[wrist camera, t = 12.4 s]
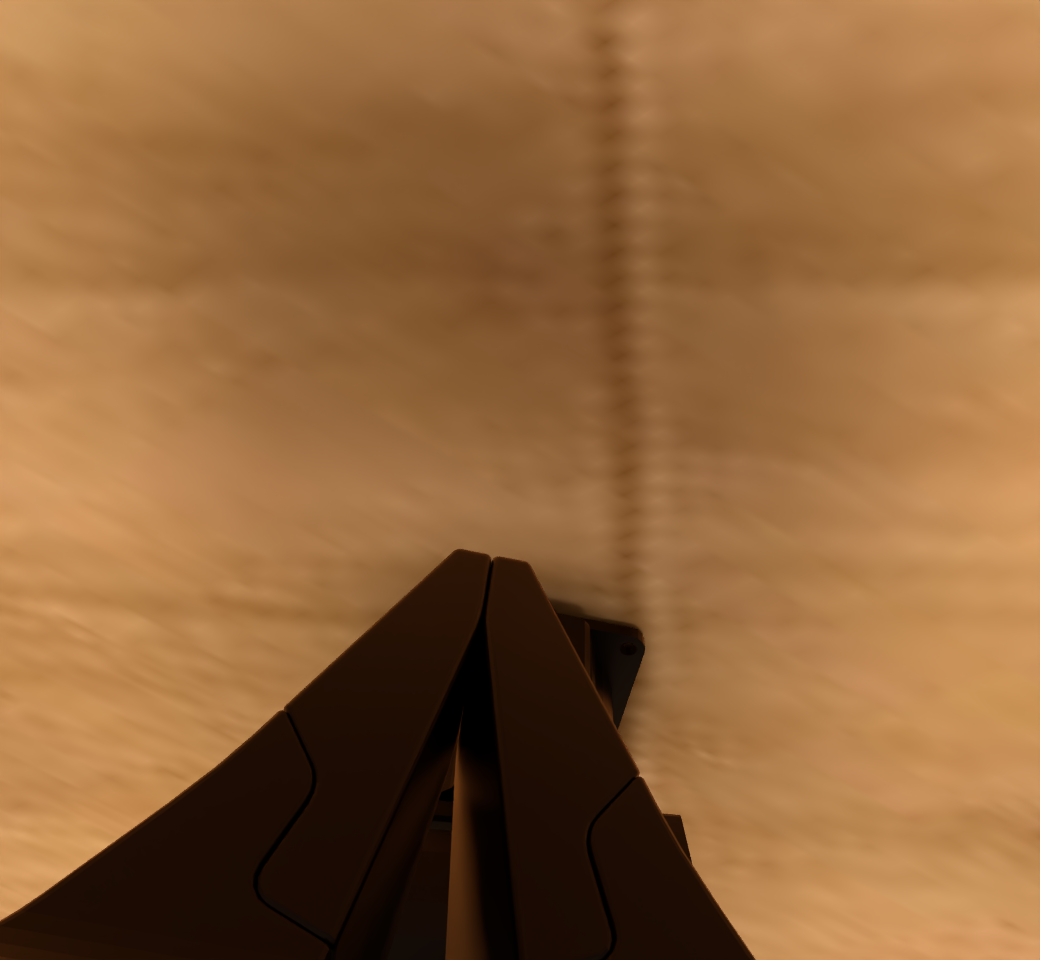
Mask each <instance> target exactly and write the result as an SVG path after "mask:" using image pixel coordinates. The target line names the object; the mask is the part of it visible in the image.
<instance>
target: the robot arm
mask: <svg viewBox="0 0 1040 960" xmlns="http://www.w3.org/2000/svg"><path fill="white" fill-rule="evenodd" d="M624 643H632V644H634V645H632V646H627V647H626V646H623V645H622V644H624ZM644 653H645V641H644V637H643V635H642V633H641V632H640V631H638V630H637V629H634V628H630V627H625V626H620V625H614V624H609V623H604V622H599V621H593V620H588V619H583V618H578V617H572V616H567V615H562V614H557V613H555V611H554V609H553V607H552V605H551V603H550V602H549V600H548V598H547V596H546V594H545V592H544V590H543V588H542V586H541V585H540V583H539V581H538V579H537V577H536V575H535V573H534V571H533V569H532V567H531V566H530V564H528V563H527V562H525V561H520V560H515V559H510V558H505V557H495V558H494V559H493V560H492V563H491V557H490V556H489V555H488V554H484V553H479V552H474V551H468V550H463V549H457V550H455V551H454V552H452V553H451V554H450V555H449V556H448V557H447V558H446V559H445V560H444V561H443V562H442V563H440V564H439V565H438V566H437V567H436V568H435V569H434V570H433V571H432V572H431V573H430V574H428V575H427V576H426V577H425V578H424V579H423V580H422V581H421V582H420V583H419V584H418V585H416V586H415V587H414V588H413V589H412V590H411V591H410V592H409V593H408V594H407V595H406V596H404V597H403V598H402V599H401V600H400V601H399V602H398V603H397V604H396V605H395V606H394V607H392V608H391V609H390V610H389V611H388V612H387V613H386V614H385V615H384V616H383V617H382V618H380V619H379V620H378V621H377V622H376V623H375V624H374V625H373V626H372V627H371V628H370V629H368V630H367V631H366V632H365V633H364V634H363V635H362V636H361V637H360V638H359V639H358V640H356V641H355V642H354V643H353V644H352V645H351V646H350V647H349V648H348V649H347V650H346V651H344V652H343V653H342V654H341V655H340V656H339V657H338V658H337V659H336V660H335V661H334V662H332V663H331V664H330V665H329V666H328V667H327V668H326V669H325V670H324V671H323V672H322V673H320V674H319V675H318V676H317V677H316V678H315V679H314V680H313V681H312V682H311V683H310V684H308V685H307V686H306V687H305V688H304V689H303V690H302V691H301V692H300V693H299V694H298V695H296V696H295V697H294V698H293V699H292V700H291V701H290V702H289V703H288V704H287V705H286V706H285V707H284V711H283V710H281V711H279V712H277V713H276V714H275V715H274V716H273V717H272V718H271V719H270V720H269V721H268V722H266V723H265V724H264V725H263V726H262V727H261V728H260V729H259V730H258V731H257V732H256V733H255V734H253V735H252V736H251V737H250V738H249V739H248V740H246V741H245V742H244V743H243V744H242V745H241V746H239V747H238V748H237V749H236V750H235V751H234V752H232V753H231V754H230V755H229V756H228V757H227V758H225V759H224V760H223V761H222V762H221V763H220V764H218V765H217V766H216V767H215V768H214V769H212V770H211V771H210V772H208V773H207V774H206V775H204V776H203V777H202V778H200V779H199V780H198V781H196V782H195V783H194V784H192V785H191V786H190V787H188V788H187V789H186V790H184V791H183V792H182V793H181V794H179V795H178V796H177V797H175V798H174V799H173V800H171V801H170V802H169V803H167V804H166V805H165V806H163V807H162V808H160V809H159V810H158V811H156V812H155V813H153V814H152V815H151V816H149V817H148V818H147V819H145V820H144V821H142V822H141V823H140V824H138V825H137V826H135V827H134V828H133V829H131V830H130V831H129V832H127V833H126V834H124V835H123V836H122V837H120V838H119V839H117V840H116V841H115V842H113V843H112V844H110V845H109V846H108V847H106V848H105V849H104V850H102V851H101V852H99V853H98V854H97V855H95V856H94V857H92V858H91V859H90V860H88V861H87V862H86V863H84V864H83V865H81V866H80V867H79V868H77V869H76V870H74V871H73V872H72V873H70V874H69V875H67V876H66V877H65V878H63V879H62V880H61V881H59V882H58V883H56V884H55V885H54V886H52V887H51V888H49V889H48V890H47V891H45V892H44V893H43V894H41V895H40V896H38V897H37V898H35V899H34V900H32V901H31V902H29V903H28V904H26V905H25V906H24V907H22V908H21V909H19V910H18V911H16V912H14V913H12V914H11V915H9V916H7V917H6V918H4V919H2V920H1V921H0V960H756V959H755V958H754V957H753V955H752V954H751V952H750V951H749V949H748V948H747V946H746V945H745V943H744V942H743V940H742V939H741V937H740V936H739V934H738V933H737V932H736V930H735V929H734V927H733V926H732V924H731V923H730V921H729V920H728V918H727V917H726V915H725V914H724V912H723V911H722V910H721V908H720V907H719V905H718V904H717V902H716V901H715V899H714V898H713V896H712V895H711V893H710V891H709V890H708V888H707V887H706V885H705V884H704V882H703V881H702V879H701V877H700V876H699V874H698V873H697V871H696V870H695V868H694V867H693V865H692V861H691V857H690V853H689V848H688V844H687V840H686V836H685V832H684V827H683V823H682V819H681V816H680V815H672V814H662V812H661V811H660V809H659V807H658V805H657V803H656V802H655V800H654V798H653V796H652V794H651V792H650V790H649V788H648V786H647V784H646V782H645V780H644V779H643V778H642V777H639V770H638V768H637V766H636V764H635V762H634V760H633V758H632V757H631V755H630V753H629V751H628V749H627V747H626V745H625V743H624V741H623V740H622V738H621V736H620V734H619V732H618V727H619V724H620V721H621V719H622V716H623V713H624V710H625V707H626V704H627V701H628V698H629V696H630V693H631V690H632V687H633V684H634V681H635V678H636V676H637V673H638V670H639V667H640V664H641V661H642V658H643V655H644Z"/></svg>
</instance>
